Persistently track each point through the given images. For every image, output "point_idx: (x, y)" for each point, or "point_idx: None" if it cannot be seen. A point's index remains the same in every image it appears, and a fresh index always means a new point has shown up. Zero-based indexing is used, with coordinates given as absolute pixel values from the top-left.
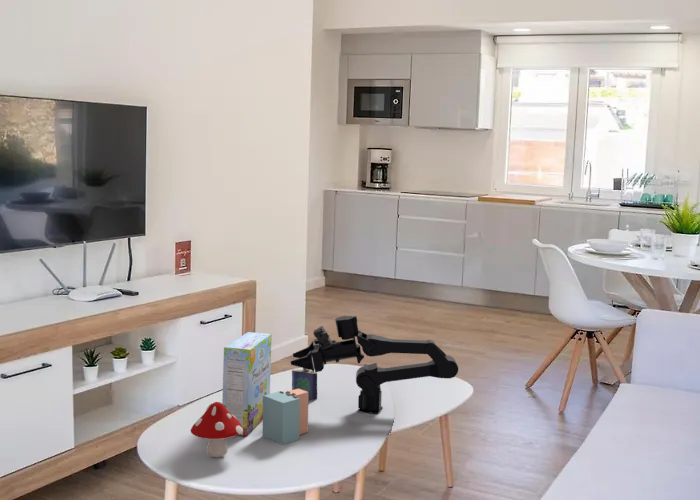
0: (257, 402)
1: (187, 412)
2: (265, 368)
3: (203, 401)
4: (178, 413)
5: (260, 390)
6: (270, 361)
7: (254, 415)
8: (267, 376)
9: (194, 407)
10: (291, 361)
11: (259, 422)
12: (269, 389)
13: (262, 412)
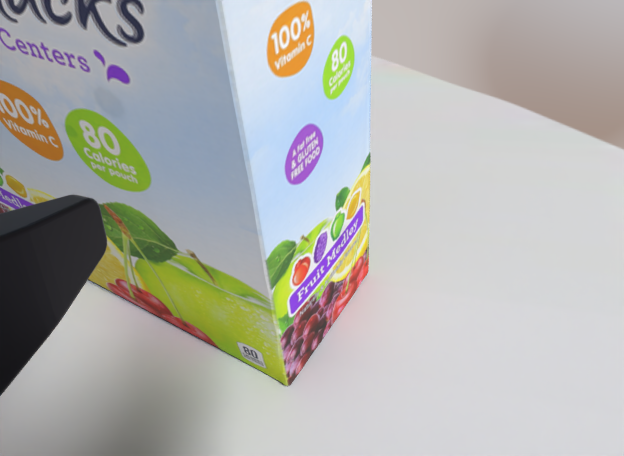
0: (6, 167)
1: (410, 89)
2: (39, 6)
3: (572, 135)
4: (403, 70)
5: (11, 125)
6: (207, 19)
7: (6, 204)
8: (141, 122)
9: (477, 107)
10: (64, 200)
11: (130, 301)
12: (251, 264)
13: (133, 283)
